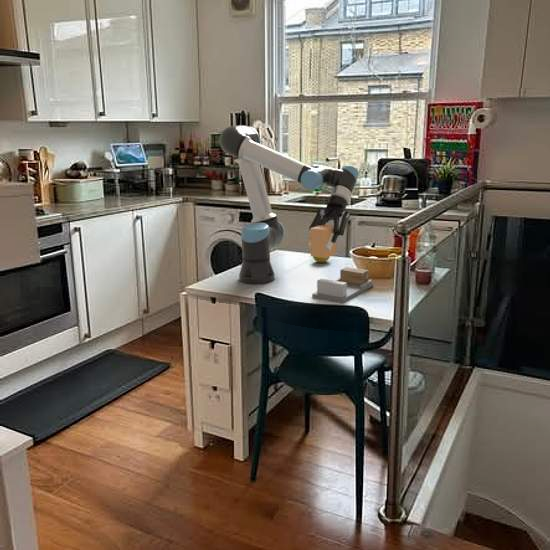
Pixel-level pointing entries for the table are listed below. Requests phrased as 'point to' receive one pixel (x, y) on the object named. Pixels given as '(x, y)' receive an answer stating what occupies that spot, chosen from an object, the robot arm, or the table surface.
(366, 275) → the block
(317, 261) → the lemon
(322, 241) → the block
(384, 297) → the table surface
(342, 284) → the vise
